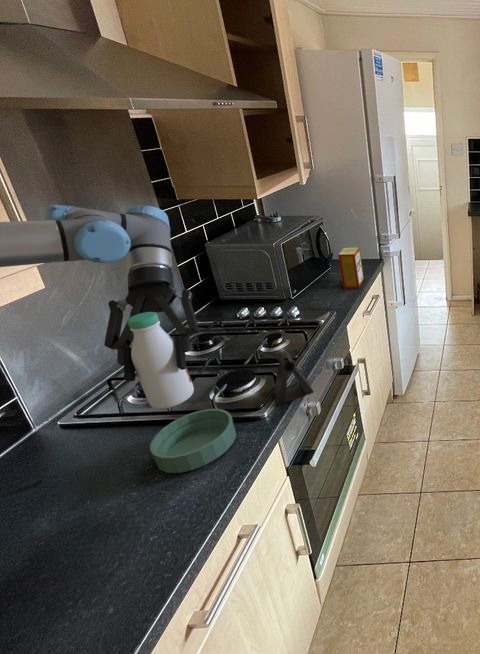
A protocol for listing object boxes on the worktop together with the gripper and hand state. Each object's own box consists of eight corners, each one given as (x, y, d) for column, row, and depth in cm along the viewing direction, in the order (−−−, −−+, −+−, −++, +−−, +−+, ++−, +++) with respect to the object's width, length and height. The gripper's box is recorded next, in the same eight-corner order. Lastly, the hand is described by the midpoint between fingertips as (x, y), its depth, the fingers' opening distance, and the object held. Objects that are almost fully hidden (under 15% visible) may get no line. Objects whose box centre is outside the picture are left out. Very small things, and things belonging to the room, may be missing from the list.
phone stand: (277, 405, 110) (268, 368, 106) (273, 394, 115) (264, 357, 110) (313, 392, 116) (305, 356, 111) (308, 382, 120) (300, 346, 115)
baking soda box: (359, 288, 181) (354, 253, 175) (343, 288, 180) (338, 254, 174) (364, 279, 189) (359, 246, 183) (349, 280, 189) (344, 246, 183)
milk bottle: (194, 401, 89) (164, 319, 81) (148, 415, 85) (112, 330, 77) (195, 382, 95) (167, 304, 87) (152, 394, 91) (119, 313, 83)
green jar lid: (144, 482, 88) (136, 465, 86) (174, 432, 102) (167, 416, 100) (225, 465, 92) (220, 448, 90) (244, 419, 106) (239, 403, 104)
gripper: (211, 271, 98) (221, 364, 91) (98, 287, 90) (99, 391, 82) (201, 257, 92) (211, 356, 85) (78, 273, 83) (78, 384, 76)
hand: (156, 373), depth 84 cm, fingers closed on milk bottle, 8 cm apart
